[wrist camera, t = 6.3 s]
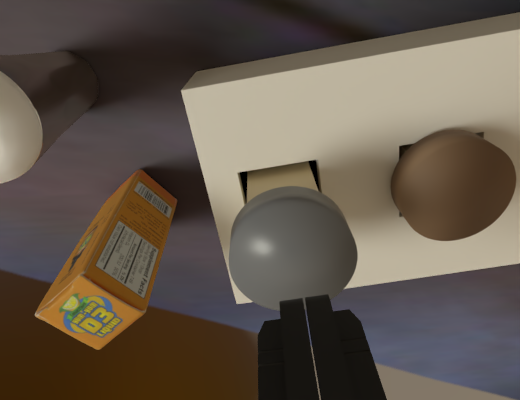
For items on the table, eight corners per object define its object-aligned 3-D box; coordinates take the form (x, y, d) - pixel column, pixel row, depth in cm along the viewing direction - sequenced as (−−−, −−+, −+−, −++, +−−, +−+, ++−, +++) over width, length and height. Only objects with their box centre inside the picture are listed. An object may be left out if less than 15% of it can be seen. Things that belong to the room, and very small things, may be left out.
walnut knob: (365, 188, 23) (402, 248, 18) (361, 111, 21) (402, 151, 15) (445, 175, 23) (508, 232, 17) (449, 96, 21) (524, 131, 15)
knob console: (239, 252, 26) (236, 304, 21) (196, 71, 20) (180, 90, 16) (573, 201, 25) (644, 245, 20) (623, -7, 19) (735, -10, 15)
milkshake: (65, 4, 19) (-99, 4, 10) (129, 102, 21) (40, 173, 12) (-5, 47, 20) (-215, 83, 11) (62, 136, 22) (-65, 227, 13)
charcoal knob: (244, 233, 21) (241, 318, 15) (226, 153, 19) (215, 217, 13) (330, 220, 21) (360, 301, 15) (322, 137, 19) (353, 195, 13)
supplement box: (149, 232, 25) (94, 358, 16) (107, 198, 24) (21, 314, 15) (184, 201, 24) (145, 318, 15) (141, 164, 23) (72, 267, 14)
